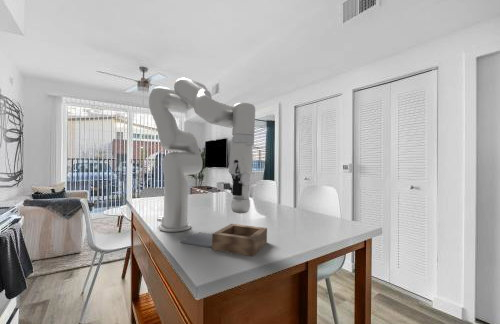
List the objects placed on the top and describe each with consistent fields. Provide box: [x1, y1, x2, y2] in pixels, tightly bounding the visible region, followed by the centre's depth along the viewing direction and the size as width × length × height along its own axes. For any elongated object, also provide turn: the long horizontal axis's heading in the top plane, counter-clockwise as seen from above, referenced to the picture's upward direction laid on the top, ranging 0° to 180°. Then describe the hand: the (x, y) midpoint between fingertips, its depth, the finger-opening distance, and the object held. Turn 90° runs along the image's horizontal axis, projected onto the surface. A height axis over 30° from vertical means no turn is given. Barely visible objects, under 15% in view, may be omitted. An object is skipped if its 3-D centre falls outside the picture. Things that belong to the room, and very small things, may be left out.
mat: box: [180, 231, 213, 249], centre depth 86 cm, size 12×12×1 cm
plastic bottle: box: [230, 165, 252, 214], centre depth 81 cm, size 6×7×20 cm
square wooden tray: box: [211, 223, 268, 257], centre depth 81 cm, size 14×14×5 cm
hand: (240, 193), depth 81 cm, fingers closed on plastic bottle, 5 cm apart
